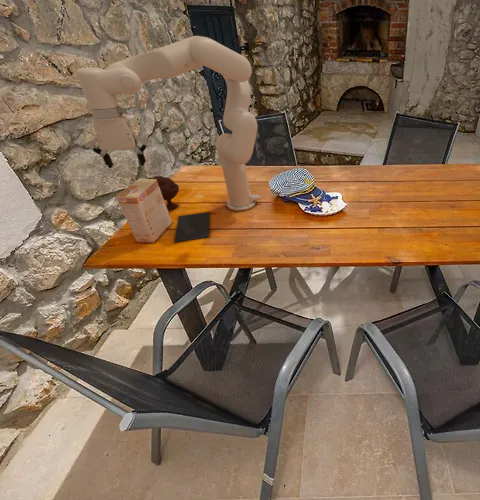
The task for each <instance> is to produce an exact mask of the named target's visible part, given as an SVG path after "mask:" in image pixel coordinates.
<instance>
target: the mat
mask: <svg viewBox="0 0 480 500" xmlns="http://www.w3.org/2000/svg"><path fill="white" fill-rule="evenodd" d="M209 232H210V212H209V211H207V212H200V213H193V214H183V215H179V216H178V220H177V226H176V231H175V237H174V243H180V242H181V243H182V242H188V241H193V240H199V239H207V238H210V237H209V234H210V233H209Z"/></svg>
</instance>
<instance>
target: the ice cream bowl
mask: <svg viewBox="0 0 480 500" xmlns="http://www.w3.org/2000/svg"><path fill="white" fill-rule="evenodd" d="M151 179H157V182H158V185H159V188H160V190H161V193H162V196H163V199H164V201H165V202H166V203H167V204H166V207H167V210H168V211H173V210H176V209H177V208H178V207H179V205H178V204H177V203H174V202H172V200H173V199H174V198H175V197H177V195H178V194H179V191H180V186H179V185H178V184H177V183H176V182H175V181H174V180H173V179H171V178H170V177H167V176H163V175H155V176H153V177H152V178H151Z"/></svg>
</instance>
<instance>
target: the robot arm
mask: <svg viewBox="0 0 480 500" xmlns="http://www.w3.org/2000/svg"><path fill="white" fill-rule="evenodd" d="M200 67H206V68H208V69H210V70H212V71H214V72H217V73H218V74H220V75H221V76H222V77H223V79H224V81H225V84H226V88H227V89H226V100H225V106H224V112H223V116H222V121H223V125H224V126H225V127H226V129H228V130H229V131H231V133H227V132H225V133H222V134H220V135H218V137H217V138H216V141H215V149H216V153H217V156H218V158H219V161H220V164H221V168H222V169H221V170H222V172H223V178H224V181H225V182H224V183H225V187H226V190H227V196H228V200H227V201H226V208H228V209H229V210H231V211H235V212H243V211H247V210H249V209H252V208H253V207H254V206H256V201H262V200H263V199H262V198H263V197H262V195H259V194H258V193H255V194H253V193H252V192H251V190H250V189H251V188H250V184H249V178H248V172H247V171H248V170H247V165H246V164H247V163H248V162H249V161H250V160H251V158H252V156H253V153H254V149H255V144H256V139H257V133H258V121H257V119H256V117H255V115H254V114H253V113H252V112H250V111H249V110H250V102H251V87H250V82H249V80H250V78H251V76H252V72H253V69H252V64H251V63H250V61H249V60H248V58H246V57H245V56H244V55H242V54H241V53H238V52H236V51H235V50H232V49H230V48H229V47H226V46H225V45H223V44H221V43H220V42H218V41H216V40H214V39H212V38H210V37H207V36H201V35H193V36H192V35H191V36H189V37H186V38H183V39H181V40H178V41H176V42H173V43H170V44H167V45H164V46H161V47H158V48H156V49H151V50H149V51H147V52H143V53H140V54H136V55H133V56H129V57H127V58H124V59H121V60H119V61H116V62H114V63H111V64H109V65H108V66H107V67H106V68H105V69H103V68H101V67H91V66H90V67H81V68H77V69H76V70H75V75H76V78H77V80H78V83H79V85H80V88H81V90H82V92H83V95H84V97H85V99H86V102H87V104H88V107H89V110H90V112H91V114H92V116H93V117H92V119H91V120H92V126H93V129H94V133H95V137H94V138H93V139H90V140H89V141H88V142H86V146H88V148H90V150H92V151H93V152H94V153H96V154H98V155H99V156H100V157H101V158H102V159H103V162H104V164H105V165H106V166H107V167H108V169H112V168H113V167H114V162H113V161H112V158H111V156H110V153H108V151H109V152H111V151H112V152H113V151H126V150H127V151H128V150H133V151H134V152H136V153H137V155H136V156H137V158H138V161H139V164H140V166H144V165H145V164H146V162H147V160H146V157H145V154H144V152H145V150H146V149H147V147H148V143H149V139H148V138H146V137H143V136H141V135H138V134H135V132H134V130H133V128H132V125H131V123H130V121H129V119H128V118H127V116H126V115H124V114H127V110H126V108H123V107H121V106H120V105H119V103H118V100H117V97H116V95H124V96H131V95H135V94H137V93H139V91H140V90H141V87H142V83H144V82H148V81H151V80H155V79H171V78H176V77H178V76H181V75H183V74H185V73H188V72H190V71H194V70H196V69H198V68H200ZM139 142H141V143H142V144H141V146H140V145H139V144H138V143H139ZM96 144H98V145H99V147H100V148H99V147H97V146H96Z"/></svg>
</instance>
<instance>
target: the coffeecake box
mask: <svg viewBox="0 0 480 500" xmlns="http://www.w3.org/2000/svg"><path fill="white" fill-rule="evenodd" d="M115 198H116V200H117V202H118V204H119V207H120V209H121V211H122V213H123V215H124V218H125V219H126V222H127V224H128V226H129V229H130V231H131V233H132V235H133V237H134V239H135V241H136V243H149V244H151V243H153V244H154V243H156V241H157V240H158V239H159V238H160V236H161V235H162V234H163V233H164V232H165V231H166V230H167V229H168V228H169V227H170V226H171V225H172V223H173V220H172V218H171V215H170V212H169V210H167V207H166V205H167V204H166V200H164V199H163V196H162V193H161V190H160V188H159V185H158V182H157V179H152V178H141V177H140V178H137V180H135V181H134V182H133V183H131V184H130V185H129V186H128V187H126V188H124V189H123V190H122V191H121V192H119V193H117V194H116V196H115Z"/></svg>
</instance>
